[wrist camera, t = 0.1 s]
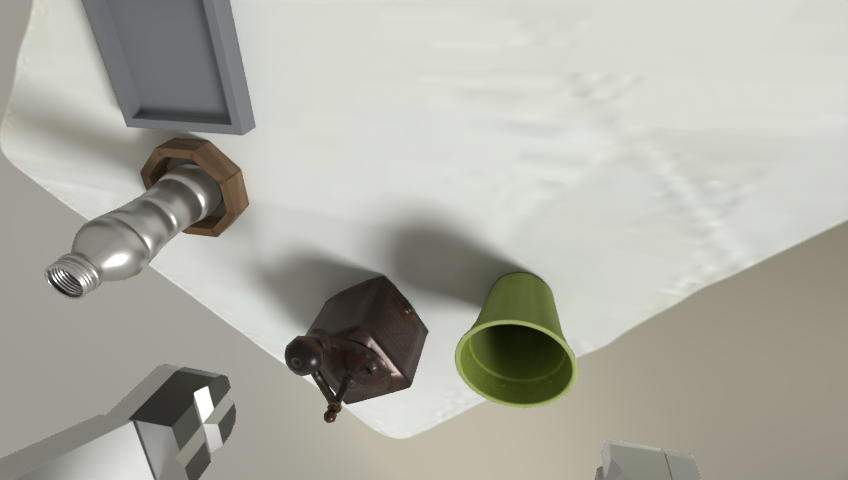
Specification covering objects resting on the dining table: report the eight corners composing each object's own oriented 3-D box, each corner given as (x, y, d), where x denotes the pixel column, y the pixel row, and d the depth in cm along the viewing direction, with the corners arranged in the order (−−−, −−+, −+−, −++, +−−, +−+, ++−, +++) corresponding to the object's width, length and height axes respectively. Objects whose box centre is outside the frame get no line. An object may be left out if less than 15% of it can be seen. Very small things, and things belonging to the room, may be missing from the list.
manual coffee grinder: (435, 331, 62) (399, 455, 47) (369, 353, 67) (318, 472, 52) (365, 239, 56) (300, 346, 42) (300, 270, 61) (221, 377, 47)
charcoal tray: (97, -21, 47) (75, -19, 45) (225, -20, 44) (208, -18, 42) (143, 119, 54) (126, 126, 52) (255, 126, 52) (242, 135, 49)
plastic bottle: (170, 156, 56) (14, 247, 40) (222, 160, 55) (82, 256, 38) (186, 204, 60) (47, 306, 43) (235, 209, 58) (111, 316, 42)
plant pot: (534, 236, 51) (531, 302, 42) (593, 310, 55) (602, 386, 45) (450, 282, 57) (430, 349, 48) (507, 346, 61) (500, 420, 51)
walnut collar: (149, 136, 55) (130, 145, 53) (234, 142, 53) (219, 152, 51) (176, 218, 61) (160, 230, 59) (254, 227, 59) (241, 240, 57)
